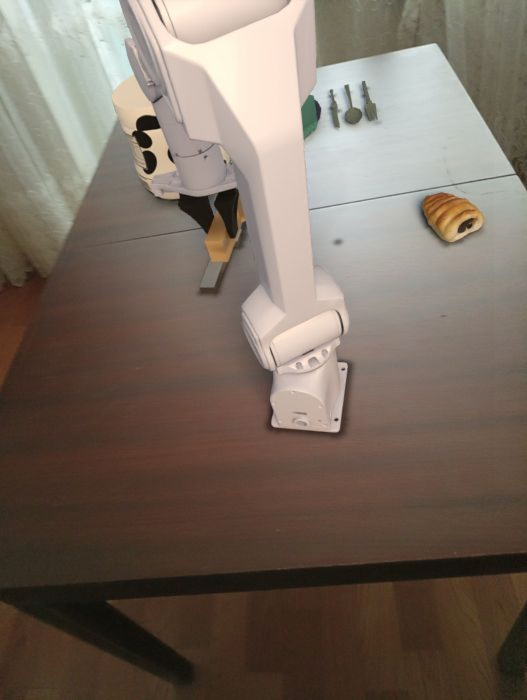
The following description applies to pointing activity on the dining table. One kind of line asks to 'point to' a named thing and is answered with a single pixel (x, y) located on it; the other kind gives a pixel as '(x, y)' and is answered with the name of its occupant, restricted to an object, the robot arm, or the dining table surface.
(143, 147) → the milk container
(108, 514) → the dining table surface
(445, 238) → the pastry
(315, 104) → the cutlery set
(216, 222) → the disc with handle bar
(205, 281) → the grey-brown pronged block
